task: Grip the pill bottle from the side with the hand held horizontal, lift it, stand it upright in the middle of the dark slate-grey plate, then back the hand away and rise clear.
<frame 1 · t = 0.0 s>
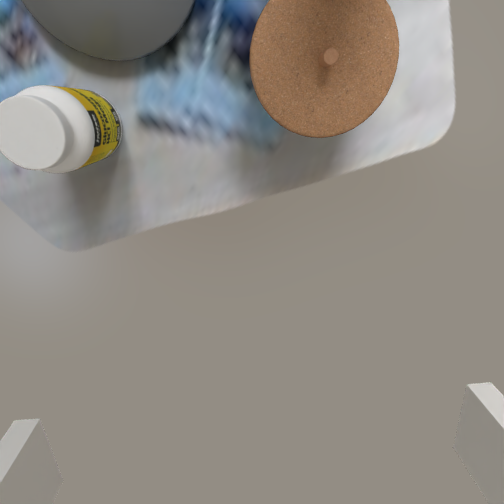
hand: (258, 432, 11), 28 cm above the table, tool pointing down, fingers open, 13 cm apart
lidded jar: (304, 69, 33), on the table
pill bottle: (91, 125, 34), on the table
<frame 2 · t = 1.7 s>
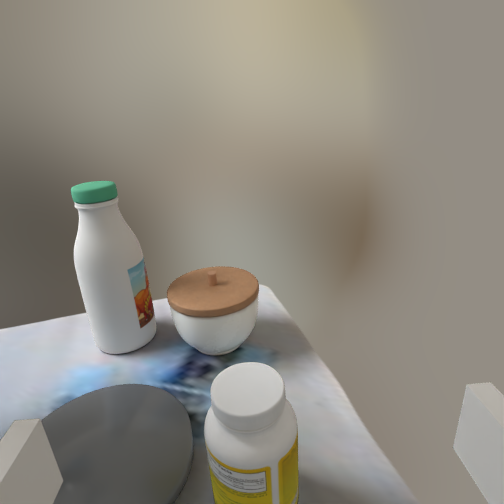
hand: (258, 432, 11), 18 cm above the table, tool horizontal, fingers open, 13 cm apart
lidded jar: (218, 341, 46), on the table
slate plate: (104, 462, 31), on the table
pill bottle: (256, 502, 27), on the table
milk bottle: (127, 338, 47), on the table
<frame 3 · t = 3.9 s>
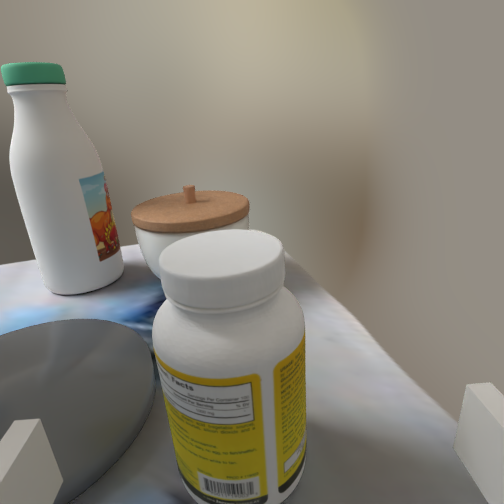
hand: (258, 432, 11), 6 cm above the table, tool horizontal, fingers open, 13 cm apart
lidded jar: (200, 280, 36), on the table
slate plate: (25, 411, 21), on the table
pill bottle: (242, 459, 18), on the table
milk bottle: (87, 280, 38), on the table
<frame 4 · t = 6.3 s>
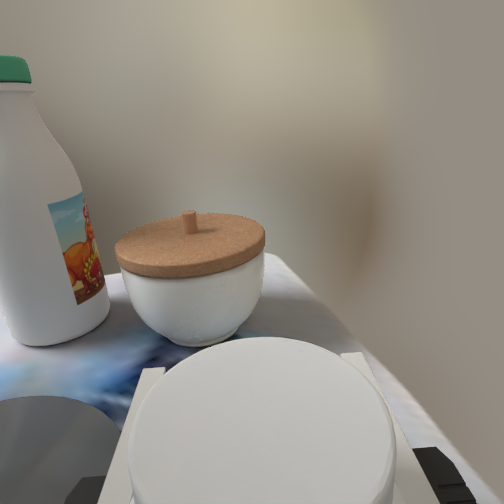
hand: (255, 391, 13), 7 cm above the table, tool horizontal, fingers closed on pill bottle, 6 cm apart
lidded jar: (203, 326, 29), on the table
milk bottle: (65, 323, 31), on the table
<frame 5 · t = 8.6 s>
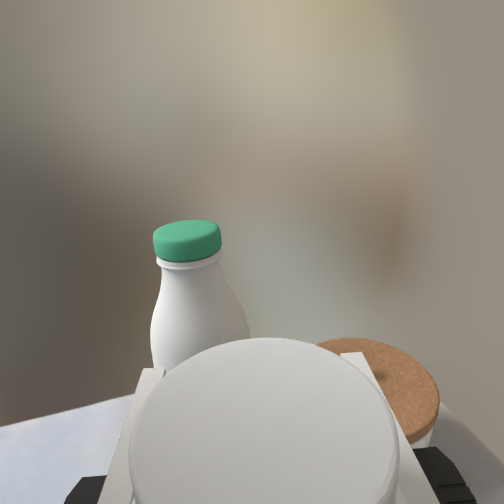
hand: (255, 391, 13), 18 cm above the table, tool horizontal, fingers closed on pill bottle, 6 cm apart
lidded jar: (356, 453, 30), on the table
milk bottle: (215, 443, 32), on the table
when the fingers open (9 cm above the table, at t = 11.1 s): pill bottle drops 1 cm, resting on slate plate.
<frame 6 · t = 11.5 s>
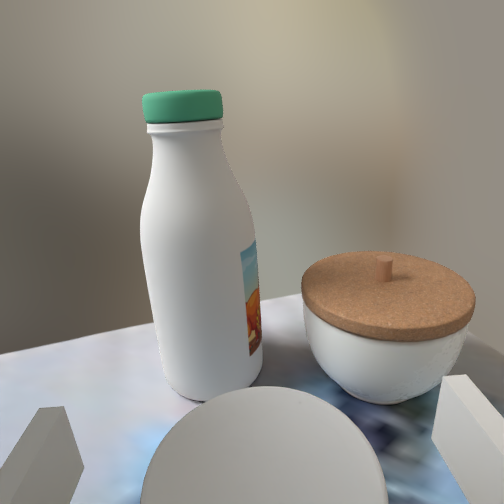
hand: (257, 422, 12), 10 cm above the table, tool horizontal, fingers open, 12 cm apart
lidded jar: (373, 375, 27), on the table
milk bottle: (214, 369, 29), on the table
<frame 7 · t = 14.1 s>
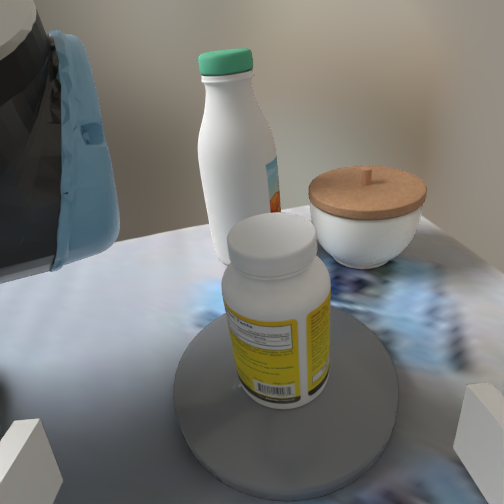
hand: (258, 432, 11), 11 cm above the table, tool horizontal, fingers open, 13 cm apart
lidded jar: (360, 254, 39), on the table
slate plate: (283, 383, 26), on the table
pill bottle: (282, 374, 25), point 1 cm above the table, touching slate plate
milk bottle: (249, 252, 41), on the table
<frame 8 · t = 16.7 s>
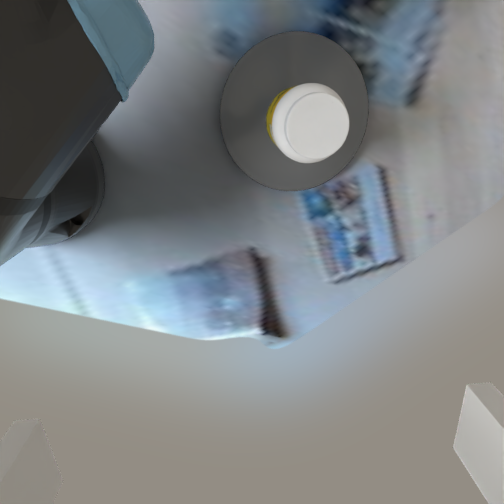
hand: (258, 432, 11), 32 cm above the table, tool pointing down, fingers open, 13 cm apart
slate plate: (292, 116, 38), on the table
pill bottle: (294, 120, 37), point 1 cm above the table, touching slate plate
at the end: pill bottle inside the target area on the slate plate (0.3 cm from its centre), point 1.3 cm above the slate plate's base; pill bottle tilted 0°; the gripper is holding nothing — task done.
